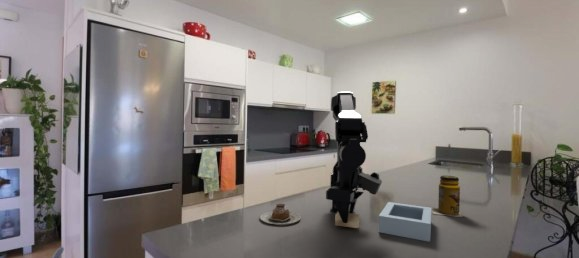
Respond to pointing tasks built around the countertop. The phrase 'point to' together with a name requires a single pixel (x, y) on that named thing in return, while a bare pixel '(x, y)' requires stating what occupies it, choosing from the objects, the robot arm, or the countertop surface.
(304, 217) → the countertop surface
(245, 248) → the countertop surface
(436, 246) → the countertop surface
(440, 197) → the condiment
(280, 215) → the pastry
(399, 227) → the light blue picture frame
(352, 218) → the block
